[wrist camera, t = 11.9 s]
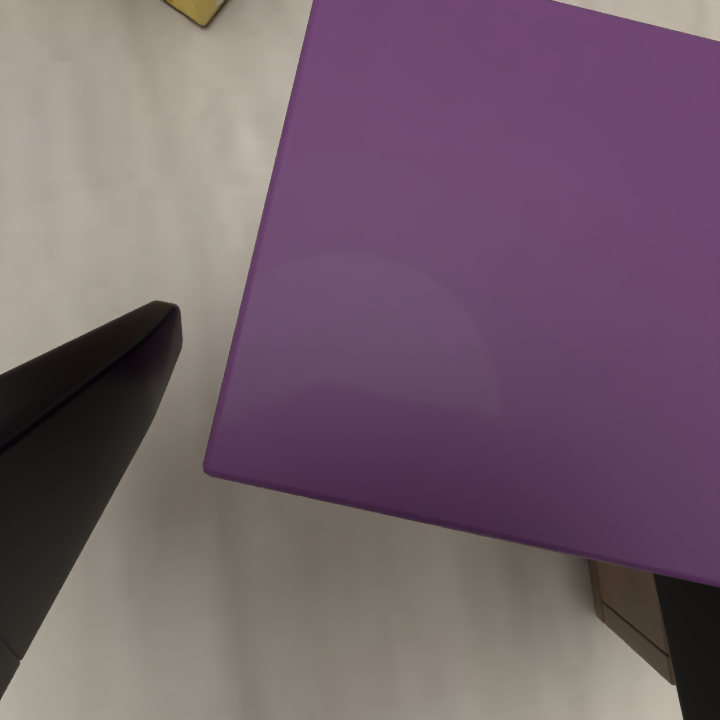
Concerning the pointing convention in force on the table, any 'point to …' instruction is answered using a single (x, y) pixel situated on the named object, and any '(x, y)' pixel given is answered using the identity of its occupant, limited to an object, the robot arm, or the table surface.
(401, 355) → the block
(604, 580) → the wooden tray
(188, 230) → the table surface
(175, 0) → the candy box
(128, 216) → the table surface
